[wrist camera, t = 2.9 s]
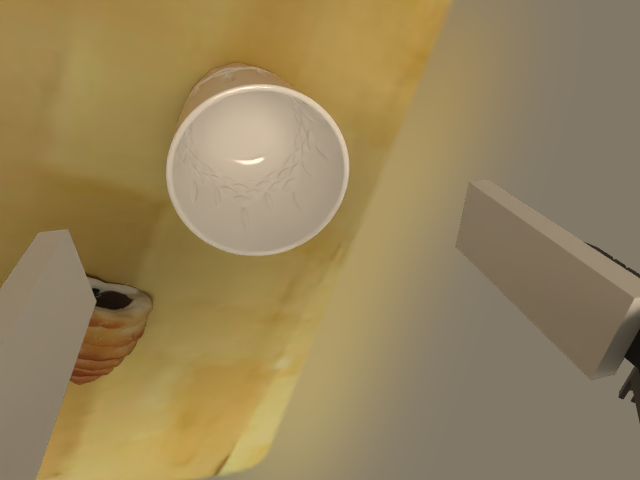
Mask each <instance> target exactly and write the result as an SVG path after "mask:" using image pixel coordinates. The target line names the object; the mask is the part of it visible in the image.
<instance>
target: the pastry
mask: <svg viewBox="0 0 640 480" xmlns="http://www.w3.org/2000/svg"><path fill="white" fill-rule="evenodd" d="M87 279H88V281H89V284H90V286H91V289H92V291H93V294H94V297H95V299H96V304H95V307H94V310H93V313H92V316H91V319H90V322H89V325H88V328H87V331H86V334H85V336H84V339H83V342H82V345H81V348H80V351H79V354H78V357H77V360H76V363H75V366H74V369H73V372H72V375H71V378H70V380H69V381H72V382H73V383H75V384H78V385H81V384H84V383H87V382H91V381H94V380H96V379H98V378H99V377H101V376H102V375H107V374H109V373H110V372H111V371H112V370H113V369H114V367H116V366H118V365H119V364H120V363H121V362H122V361H123V359H124V357H125V356H126V355H129V354H130V353H131V352H132V350H133V349H134V347H135V346H136V344H137V340H138V339H139V338H140V337H141V336H142V335H143V333H144V330H145V326H146V320H147V317H148V315H149V312H150V311H151V310H152V309H153V304H152V301H151V299H150V298H149V297H148V296H146V294H145V293H144V292H140V291H139V290H138V289H137V288H134V287H131V286H128V285H121V284H113V283H104V282H102V281H100V280H97V279H94V278H90V277H87Z"/></svg>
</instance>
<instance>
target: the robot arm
mask: <svg viewBox="0 0 640 480" xmlns="http://www.w3.org/2000/svg"><path fill="white" fill-rule="evenodd" d="M456 247H457V248H458V250H459V251H461V253H463V254H464V255H465V256H466V257H467V258H468V259H469V260H470V261H471V262H472V263H473V264H474V265H475V266H476V267H477V268H478V269H479V270H480V271H481V272H482V273H483V274H484V275H485V276H486V277H487V278H488V279H489V280H490V281H491V282H492V283H493V284H494V285H495V286H496V287H497V288H498V289H499V290H500V291H501V292H502V293H503V294H504V295H505V296H506V297H507V298H508V299H509V300H510V301H511V302H512V303H513V304H514V305H515V306H516V307H517V308H518V309H519V310H520V311H521V312H522V313H523V314H524V315H525V316H526V317H527V318H528V319H529V320H530V321H531V322H532V323H533V324H534V325H535V326H536V327H537V328H538V329H539V330H540V331H541V332H543V334H544V335H545V336H547V338H549V340H551V342H552V343H553V344H555V345H556V346H557V347H558V348H559V349H560V350H561V351H562V352H563V353H564V354H565V355H566V356H567V357H568V358H569V359H570V360H571V361H572V362H573V363H574V364H575V365H576V366H577V367H578V368H579V369H580V370H581V371H582V372H583V373H584V374H585V375H586V376H587V377H588V378H589V379H590V380H594V379H598V378H602V377H606V376H610V375H614V374H615V373H616V371H617V370H618V368H619V366H620V364H621V363H622V361H623V359H624V358H626V359H627V360H628V361H630V362H631V363H632V364H633V365H634V366H635V367H634V368H633V370H632V372H631V373H630V375H629V377H628V378H627V380H626V381H625V383H624V385H623V386H622V388H621V390H620V392H619V398H621V399H624V398H625V396H626V395H627V393H628V391H630V390H632V391H633V393H634V396H633V398H632V400H631V402H634V403H636V407H637V412H638V416H639V421H640V274H638V273H636V272H635V271H633V270H632V269H630V268H626V266H625V265H624V264H622V263H621V262H619V261H618V260H616V259H615V260H613V257H611V256H610V255H608V254H607V253H605V252H604V251H602V250H600V249H599V248H597V247H595V246H593V245H590V244H588V243H585V242H583V241H581V240H580V239H578V238H576V237H575V236H573V235H572V234H570V233H569V232H567V231H566V230H564V229H563V228H561V227H559V226H558V225H556V224H555V223H553V222H552V221H550V220H549V219H547V218H546V217H544V216H543V215H541V214H539V213H538V212H536V211H535V210H533V209H532V208H530V207H529V206H527V205H525V204H524V203H522V202H521V201H519V200H518V199H516V198H515V197H513V196H512V195H510V194H508V193H507V192H505V191H504V190H502V189H501V188H499V187H498V186H496V185H494V184H493V183H491V182H490V181H488V180H484V181H475V182H469V184H468V189H467V194H466V198H465V203H464V208H463V213H462V218H461V222H460V227H459V232H458V237H457V242H456ZM95 304H96V299H95V297H94V294H93V291H92V289H91V286H90V284H89V281H88V279H87V276H86V274H85V271H84V268H83V266H82V263H81V261H80V258H79V256H78V253H77V251H76V248H75V245H74V243H73V240H72V238H71V235H70V233H69V230H68V229H62V230H53V231H45V232H38V234H37V235H36V237H35V238H34V240H33V241H32V243H31V244H30V246H29V247H28V249H27V250H26V252H25V253H24V254H23V256H22V257H21V259H20V260H19V262H18V263H17V265H16V266H15V268H14V269H13V271H12V272H11V273H10V275H9V276H8V278H7V279H6V281H5V282H4V284H3V285H2V287H1V288H0V480H36V477H37V474H38V471H39V469H40V466H41V463H42V460H43V457H44V454H45V451H46V448H47V445H48V442H49V439H50V436H51V433H52V430H53V427H54V425H55V422H56V419H57V416H58V413H59V410H60V407H61V404H62V401H63V398H64V395H65V392H66V389H67V386H68V383H69V380H70V378H71V375H72V372H73V369H74V366H75V363H76V360H77V357H78V354H79V351H80V348H81V345H82V342H83V339H84V336H85V334H86V331H87V328H88V325H89V322H90V319H91V316H92V313H93V310H94V307H95Z"/></svg>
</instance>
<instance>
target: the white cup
mask: <svg viewBox="0 0 640 480" xmlns="http://www.w3.org/2000/svg"><path fill="white" fill-rule="evenodd" d="M348 179H349V157H348V151H347V147H346V144H345V141H344V138H343V136H342V133H341V131H340V129H339V128H338V126H337V124H336V123H335V121H334V120H333V119H332V117H331V116H330V115H329V114H328V113H327V112H326V111H325V110H324V109H323V108H322V107H321V106H320V105H319V104H318V103H316V102H315V101H314V100H312V99H311V98H309V97H308V96H306V95H305V94H303V93H302V92H301V91H299V90H298V89H296V88H295V87H294V86H293V85H291V84H290V83H288V82H286V81H285V80H283V79H281V78H279V77H278V76H276V75H274V74H272V73H270V72H268V71H265V70H264V69H263V68H260V67H256V66H251V65H246V64H241V63H232V64H229V65H225V66H222V67H218V68H214V69H211V70H210V71H209V72H208V73H207V74H206V75H205V76H204V77H203V78H202V79H201V80H200V81H199V82H198V83H197V84H196V85H195V86H194V87H193V88H192V91H191V94H190V95H189V97H188V98H187V100H186V102H185V105H184V107H183V109H182V112H181V114H180V116H179V119H178V122H177V126H176V130H175V133H174V136H173V139H172V142H171V145H170V148H169V152H168V156H167V163H166V182H167V188H168V193H169V196H170V199H171V202H172V204H173V206H174V208H175V210H176V212H177V214H178V216H179V217H180V219H181V220H182V221H183V223H184V224H185V225H186V226H187V227H188V228H189V229H190V230H191V231H192V232H193V233H194V234H195V235H196V236H197V237H199V238H200V239H201V240H203V241H204V242H206V243H208V244H210V245H211V246H213V247H215V248H218V249H220V250H223V251H226V252H229V253H233V254H238V255H245V256H266V255H273V254H277V253H281V252H285V251H288V250H290V249H293V248H295V247H297V246H299V245H301V244H303V243H305V242H307V241H308V240H310V239H311V238H312V237H314V236H315V235H316V234H318V233H319V232H320V231H321V230H322V229H323V228H324V227H325V226H326V225H327V224H328V223H329V222H330V220H331V219H332V218H333V216H334V215H335V213H336V212H337V210H338V208H339V207H340V205H341V203H342V200H343V198H344V195H345V192H346V189H347V184H348Z"/></svg>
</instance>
